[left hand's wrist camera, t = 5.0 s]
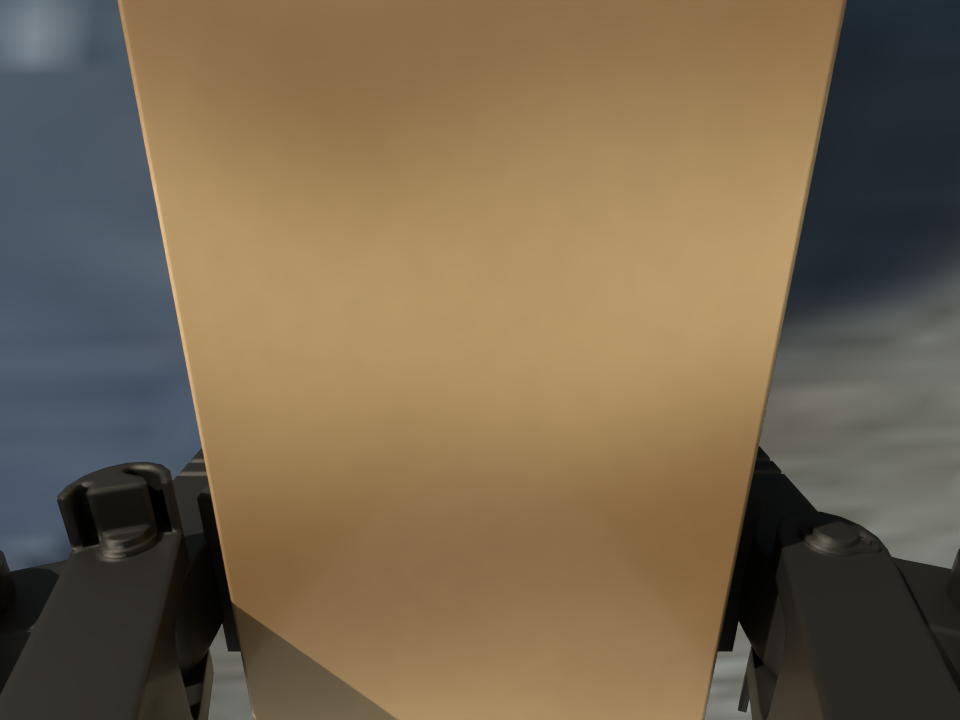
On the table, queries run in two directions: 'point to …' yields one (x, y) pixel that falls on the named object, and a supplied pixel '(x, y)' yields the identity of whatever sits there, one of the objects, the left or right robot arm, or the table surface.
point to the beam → (480, 331)
